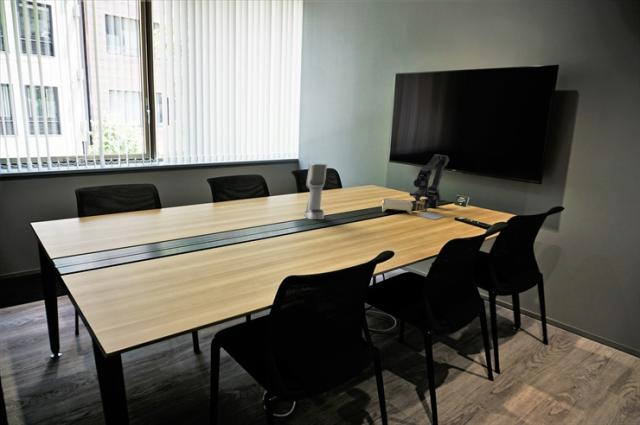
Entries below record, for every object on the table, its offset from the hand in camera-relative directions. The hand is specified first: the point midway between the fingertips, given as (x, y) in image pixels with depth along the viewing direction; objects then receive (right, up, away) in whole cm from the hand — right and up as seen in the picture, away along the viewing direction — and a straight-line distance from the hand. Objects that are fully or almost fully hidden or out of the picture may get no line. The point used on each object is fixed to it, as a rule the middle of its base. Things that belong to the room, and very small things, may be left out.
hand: (421, 207), depth 300 cm
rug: (+3, -6, -13) cm, 15 cm away
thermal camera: (-76, -7, -30) cm, 82 cm away
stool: (0, -2, +1) cm, 2 cm away
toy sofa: (-19, -4, -6) cm, 20 cm away
